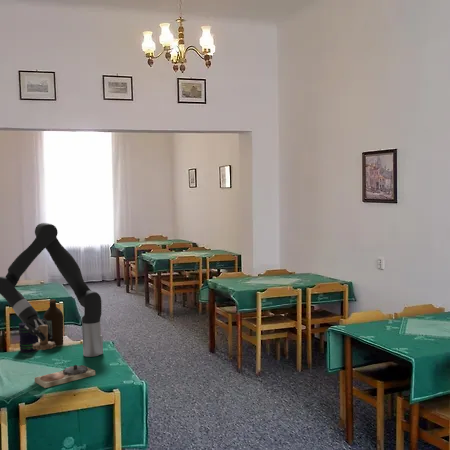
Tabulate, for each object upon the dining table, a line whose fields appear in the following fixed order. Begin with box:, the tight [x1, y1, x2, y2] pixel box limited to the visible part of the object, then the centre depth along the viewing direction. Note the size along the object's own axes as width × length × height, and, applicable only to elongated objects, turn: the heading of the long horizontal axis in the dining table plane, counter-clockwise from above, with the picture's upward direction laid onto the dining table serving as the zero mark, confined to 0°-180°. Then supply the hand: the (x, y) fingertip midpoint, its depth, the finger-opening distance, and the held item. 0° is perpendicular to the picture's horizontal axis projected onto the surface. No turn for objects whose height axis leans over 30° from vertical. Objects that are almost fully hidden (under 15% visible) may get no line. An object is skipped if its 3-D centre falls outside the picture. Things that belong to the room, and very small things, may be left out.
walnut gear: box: [33, 325, 56, 351], centre depth 253 cm, size 10×10×10 cm
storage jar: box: [18, 321, 40, 354], centre depth 297 cm, size 10×10×15 cm
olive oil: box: [42, 298, 64, 347], centre depth 308 cm, size 11×11×25 cm
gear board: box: [34, 364, 96, 389], centre depth 249 cm, size 24×11×5 cm, turn 132°
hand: (47, 338), depth 253 cm, fingers closed on walnut gear, 3 cm apart
